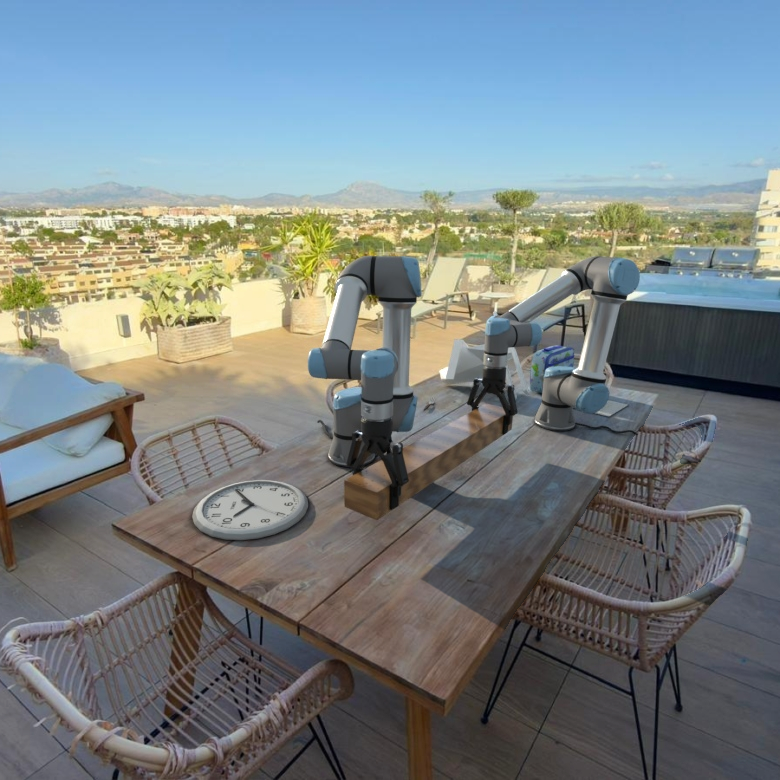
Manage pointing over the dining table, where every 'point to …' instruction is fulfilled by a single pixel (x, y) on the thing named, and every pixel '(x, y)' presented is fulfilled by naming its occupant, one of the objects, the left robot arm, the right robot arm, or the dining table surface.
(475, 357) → the white plastic object
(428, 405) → the fork
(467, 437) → the wide beam
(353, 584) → the dining table surface
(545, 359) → the lunch box
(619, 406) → the invitation card
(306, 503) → the wall clock
